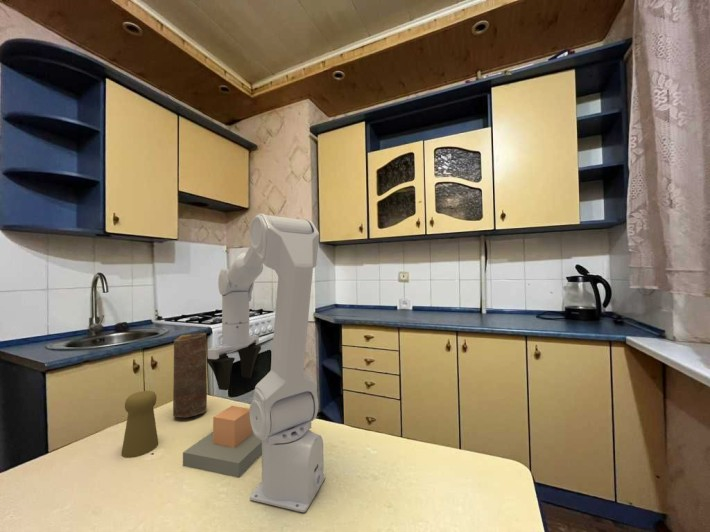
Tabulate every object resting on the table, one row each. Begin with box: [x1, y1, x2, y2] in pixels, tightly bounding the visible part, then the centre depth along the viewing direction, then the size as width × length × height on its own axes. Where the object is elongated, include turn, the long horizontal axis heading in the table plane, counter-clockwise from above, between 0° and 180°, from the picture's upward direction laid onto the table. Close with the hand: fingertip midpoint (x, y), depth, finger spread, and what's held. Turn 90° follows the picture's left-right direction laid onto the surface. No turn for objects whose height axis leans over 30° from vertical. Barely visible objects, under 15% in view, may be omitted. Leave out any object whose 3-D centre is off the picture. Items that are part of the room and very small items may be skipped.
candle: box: [172, 332, 208, 418], centre depth 73 cm, size 8×7×20 cm
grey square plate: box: [182, 430, 262, 479], centre depth 57 cm, size 12×12×3 cm
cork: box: [120, 390, 159, 459], centre depth 59 cm, size 6×6×11 cm
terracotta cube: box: [212, 405, 252, 448], centre depth 57 cm, size 5×5×5 cm
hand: (235, 382), depth 65 cm, fingers open, 7 cm apart
